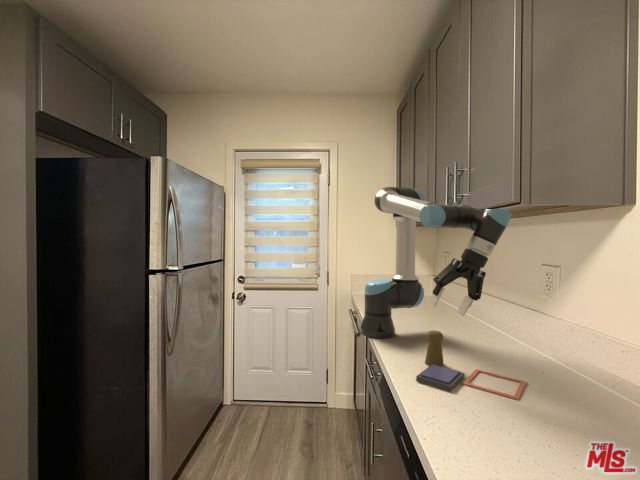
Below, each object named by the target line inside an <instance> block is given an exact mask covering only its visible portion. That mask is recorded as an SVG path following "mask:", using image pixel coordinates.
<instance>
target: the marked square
mask: <svg viewBox="0 0 640 480" xmlns="http://www.w3.org/2000/svg"><path fill="white" fill-rule="evenodd" d="M479 373H481V374H484V375H488V376H492V377H497V378H500V379H505V380H509V381H512V382H515V383H519V386H518V387H517V389H516V391H515V393H514V395H512V394H509V393H506V392H502V391H498V390H495V389H491V388H487V387H483V386H480V385H476V384H473V383H471V382H472V381H473V379H474V378H475V377H476V376H477V375H479ZM471 380H472V381H471ZM470 381H471V382H470ZM527 383H528V382H527V381H526V380H522V379H518V378H513V377H510V376H506V375H501V374H499V373H494V372H489V371H487V370H482V369H478V368H475V369H474V370H473V371H472V372H471V374H470V375H468V377H467V378H466V379H465V380H463V382H462V385H463V386H467V387H470V388H473V389H477V390H481V391H484V392H488V393H490V394H494V395H497V396H501V397H505V398H509V399H512V400H515V401H519V399H520V398H521V396H522V394H523V392H524V389H525V387H526V385H527Z"/></svg>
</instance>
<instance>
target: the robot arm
mask: <svg viewBox="0 0 640 480" xmlns="http://www.w3.org/2000/svg"><path fill="white" fill-rule="evenodd" d="M374 206H375V207H376V208H377V210H378V211H379V212H381V213H385V214H392V219H394V221H395V222H396V224H395V225H396V227H395V230H396V231H395V274H394V275H393V276H392V277H391V279H389V278H381V279H380V278H379V279H378V278H377V279H372V280H369V281H367V282H366V284H364V285H365V287H364V315H363V318H362V321H361V324H360V329H359V330H360V331H359V332H360V334H361V335H362V336H364V337H369V338H372V339H373V338H374V339H390V338H393V337H394V336H396V328H395V324H394V321H393V318H392V311H393V310H394V309H396V310H397V309H411V308H417V307H419V306H420V305H421V304H422V302H423V301H424V296H425V289H424V287H423V284H422V283H421V282H420V281H419V278H418V276H417V275H416V241H417V240H416V239H417V238H416V236H417V230H416V228H417V227H416V226H417V222H420V223H421V225H422V226H423V227H425V228H430V229H431V228H432V229H436V228H438V229H439V228H440V229H441V228H443V229H444V228H445V229H465V230H466V229H467V230H470V231H473V234H472V235H471V237H470V239H469V241H468V243H467V245H466V247H467V248H464V250H463V252H462V254H461V256H460V258H461V260H459V259H457V258H452V260H451V262H450V263H449V264H447V266H446V267H445V268H443V269H442V270H441V271H440V272H439V273H438V274H436V276H435V277H433V282H434V284H435V287H434V289H433V290H432V295H431V297H430V298H429V300H428V303H429V304H430V305H432V306H433V307H437V305H438V302H439V301H440V299H441V297H442V295H443V293H444V292H445V290H446V288H445V287H446V286H447V285H449V284H450V283H452V282H454V281H455V280H457V279H459V278H463V279H465V280H466V281H467V283H466V284H467V295H465V296H464V298H463V299H462V302H461V303H460V305H459V307H458V309H457V311H456V313H457V314H459V315H460V316H462V317H465V315H466V314H467V312H468V310H469V308H470V307H471V306H472V304H473V302H474V301H476V302H477V301H478V300H480V299H481V297H482V293H483V285H484V280H485V277H486V276H487V275H486V274H487V272H485V271H484V270H482V269H483V268H485V267H486V264H487V262H488V260H489V258H488V257H490V256H491V255H492V253H493V251H494V250H495V247H496V246H497V243H499V240H500V238H501V237H502V235H503V233H504V232H505V230H506V229H507V228H508V224H509V222H510V220H511V218H512V213H511V212H510V210H507V209H506V210H505V208H503V209H487V208H485V209H481V210H479V209H480V208H477V207H474V208H473V206H471V205H466V204H458V205H447V204H445V205H444V204H438V203H435V202H434V203H433V202H430V201H427V200H426V199H425V195H424V193H423V192H422V191H421V190H420V189H417V188H412V187H396V186H387V187H386V186H385V187H383V188H381V189H379V190H378V191H377V192H376V194H375V196H374ZM476 208H477V209H476Z"/></svg>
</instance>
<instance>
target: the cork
mask: <svg viewBox="0 0 640 480" xmlns="http://www.w3.org/2000/svg"><path fill="white" fill-rule="evenodd" d="M426 339H427V341H428V342H427V348H426V354H425V359H424V360H425V361H424V364H425V365H426V366H427V367H429V366H430V365H437V366H441V367H445V366H444V365H445V363H444V355H443V354H444V353H443V345H442V342H443V340H444V335H443V333H442V332H441V331H439V330H429V331H427V334H426Z"/></svg>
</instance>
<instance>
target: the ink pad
mask: <svg viewBox="0 0 640 480" xmlns="http://www.w3.org/2000/svg"><path fill="white" fill-rule="evenodd" d="M464 379H465V372H462V371H460V370H457V369H456V370H454V369H451V368H448V367H445V366H443V367H441V366H437V365H430V366H427V367H426V368H425V369H424V370H423V371H421V372H420V373H418V374H417V375H416V377H415V382H418V383H421V384H425V385H426V386H431V387H435V388H437V389H441V390H444V391H447V392H450V393H451V392H452V391H453V390H454V389H455V388H456V387H457V386H458V385H459V384H460V383H461V382H462V381H464Z"/></svg>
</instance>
